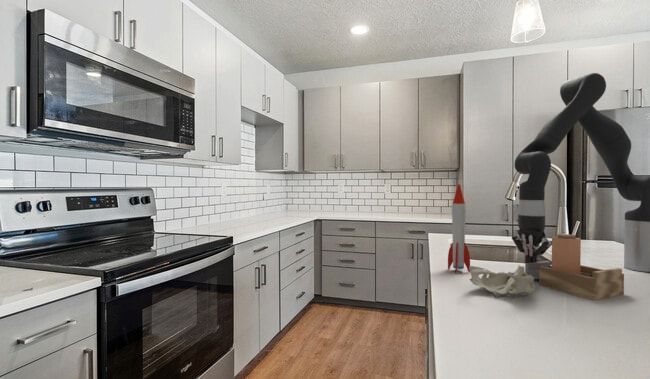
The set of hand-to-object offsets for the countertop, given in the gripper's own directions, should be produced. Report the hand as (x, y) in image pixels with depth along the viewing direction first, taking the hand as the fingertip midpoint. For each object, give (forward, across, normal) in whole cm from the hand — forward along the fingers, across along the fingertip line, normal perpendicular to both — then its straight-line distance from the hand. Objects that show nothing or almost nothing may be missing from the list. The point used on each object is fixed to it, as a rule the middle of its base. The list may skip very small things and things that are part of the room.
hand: (530, 267), depth 108 cm
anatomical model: (+3, -9, +22) cm, 24 cm away
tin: (+1, -11, 0) cm, 11 cm away
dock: (+3, -15, 0) cm, 15 cm away
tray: (+2, -8, 0) cm, 9 cm away
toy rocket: (+3, +14, +17) cm, 22 cm away
